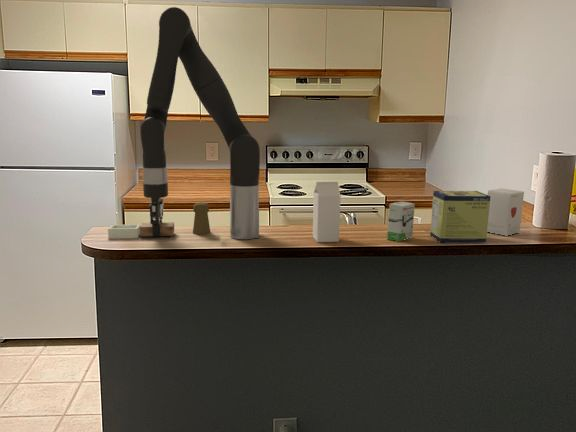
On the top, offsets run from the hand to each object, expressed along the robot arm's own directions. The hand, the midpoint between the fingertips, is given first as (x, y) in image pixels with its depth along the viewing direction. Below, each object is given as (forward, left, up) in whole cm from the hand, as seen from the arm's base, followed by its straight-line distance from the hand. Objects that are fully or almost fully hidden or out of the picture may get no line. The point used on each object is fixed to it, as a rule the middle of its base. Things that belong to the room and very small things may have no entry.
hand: (157, 233), depth 168 cm
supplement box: (-118, -1, -2) cm, 118 cm away
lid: (0, 0, 0) cm, 0 cm away
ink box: (-79, +5, -2) cm, 79 cm away
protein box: (-98, +7, -2) cm, 98 cm away
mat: (0, 0, -2) cm, 2 cm away
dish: (+10, 0, -2) cm, 10 cm away
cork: (-14, -3, -2) cm, 14 cm away
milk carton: (-54, +5, -2) cm, 54 cm away
